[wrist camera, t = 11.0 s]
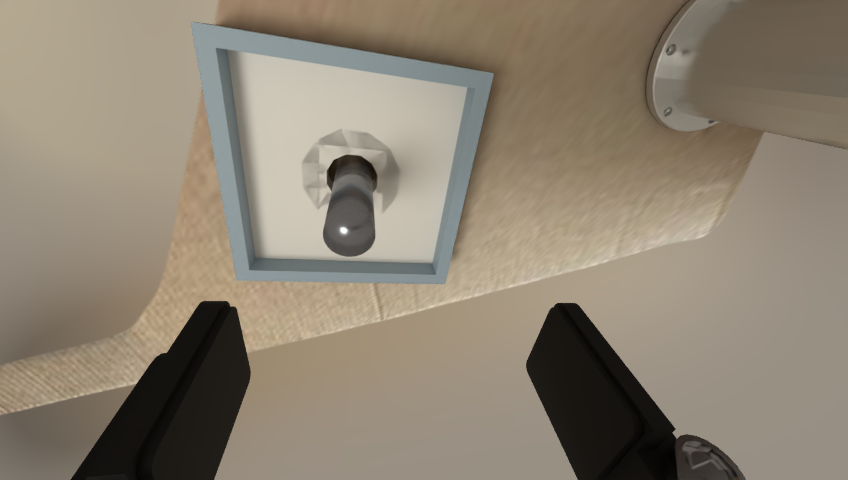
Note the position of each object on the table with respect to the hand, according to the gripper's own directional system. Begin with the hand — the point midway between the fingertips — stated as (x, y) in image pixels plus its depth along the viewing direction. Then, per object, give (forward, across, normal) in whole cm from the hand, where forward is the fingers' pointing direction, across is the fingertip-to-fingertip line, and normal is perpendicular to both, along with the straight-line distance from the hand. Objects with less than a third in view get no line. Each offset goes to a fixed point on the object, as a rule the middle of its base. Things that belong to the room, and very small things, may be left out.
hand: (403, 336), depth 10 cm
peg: (+23, +2, +3) cm, 23 cm away
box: (+23, +3, +3) cm, 23 cm away
